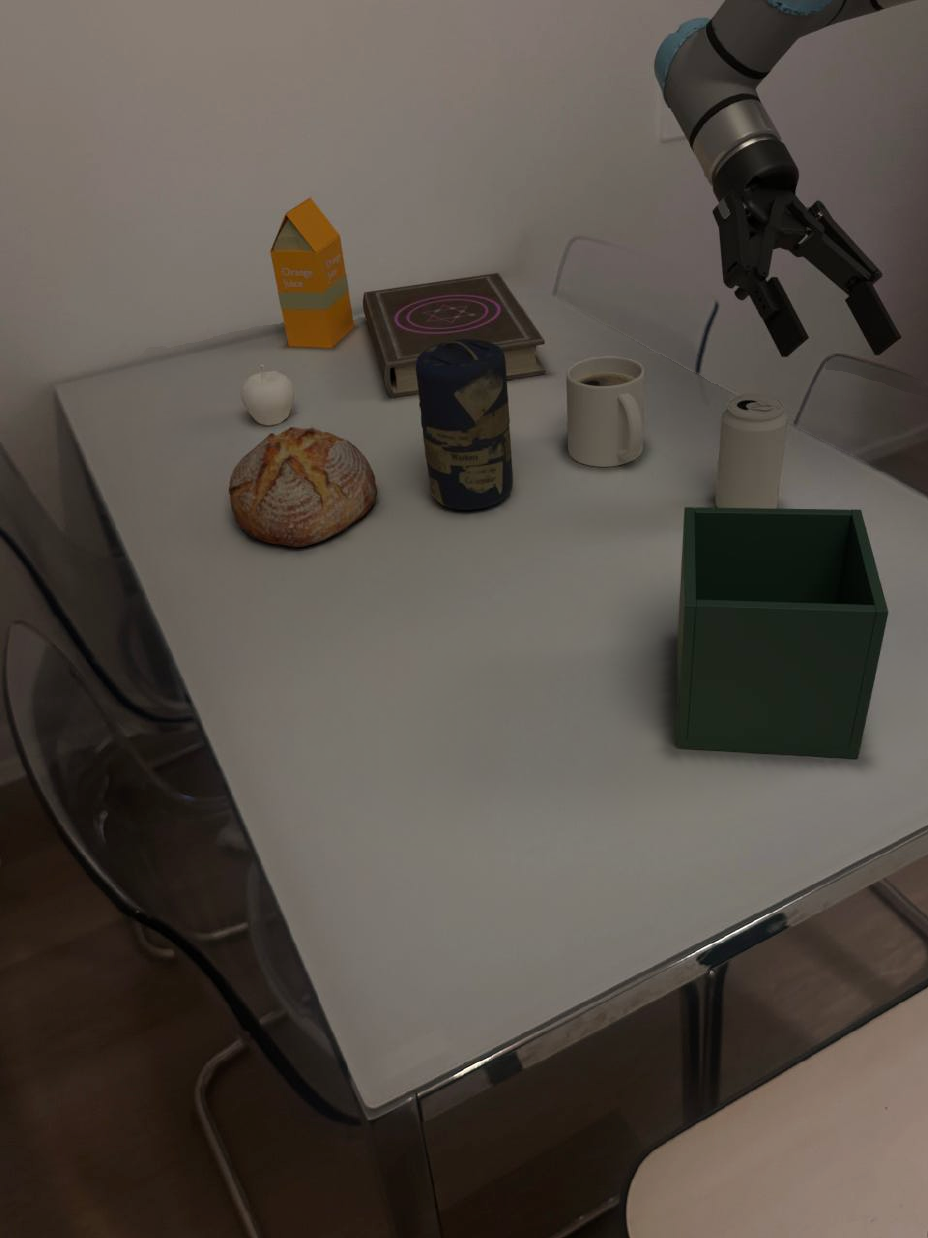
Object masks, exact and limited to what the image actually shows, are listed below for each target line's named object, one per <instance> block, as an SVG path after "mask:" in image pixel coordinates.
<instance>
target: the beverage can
mask: <svg viewBox="0 0 928 1238" xmlns="http://www.w3.org/2000/svg"><path fill="white" fill-rule="evenodd" d="M725 407H726V408H725V410H724V411H723V412H722V414H721V420H720V421H721V424H720V435H719V449H718V459H717V462H718V463H717V475H716V486H715V487H716V488H715V498H714V500H715V501H714V502H715V506H716V508H772V509H777V507H778V505H779V504H778V503H779V496H780V495H779V494H780V489H781V479H782V470H783V464H784V454H785V446H786V438H787V429H788V422H789V417H788V416H789V415H788V414H787V412H786V404H785V403H784V401H783V400H781V399H780V398H779V397H777V396H773V395H771V394H765V393H764V394H763V393H744V394H739V395H737V396H733V397H731V398H730V399H729V400H728V401H727V403H726V406H725Z"/></svg>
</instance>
